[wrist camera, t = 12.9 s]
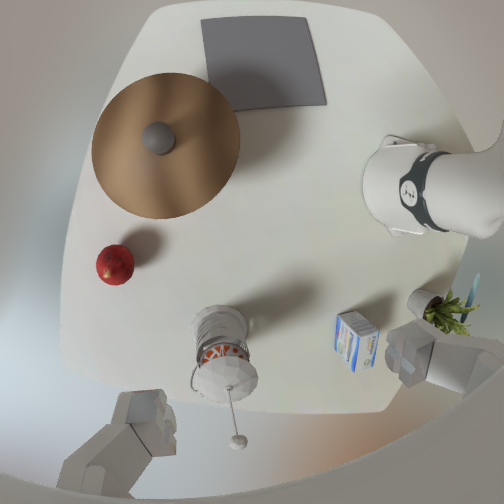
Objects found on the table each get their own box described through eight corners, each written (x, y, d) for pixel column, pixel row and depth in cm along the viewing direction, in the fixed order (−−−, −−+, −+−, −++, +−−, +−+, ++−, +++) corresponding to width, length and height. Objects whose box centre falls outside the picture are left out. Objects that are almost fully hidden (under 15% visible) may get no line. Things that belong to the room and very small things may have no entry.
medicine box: (336, 314, 50) (358, 336, 42) (356, 310, 51) (380, 330, 42) (333, 349, 52) (353, 373, 44) (353, 344, 53) (374, 367, 44)
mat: (303, 18, 36) (304, 17, 35) (324, 105, 41) (325, 104, 40) (200, 21, 33) (200, 19, 33) (214, 113, 38) (214, 113, 38)
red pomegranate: (105, 238, 40) (86, 250, 32) (139, 241, 41) (126, 254, 33) (105, 274, 41) (88, 292, 33) (138, 277, 42) (127, 297, 34)
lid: (227, 66, 28) (231, 47, 23) (249, 202, 32) (258, 205, 27) (89, 97, 26) (73, 84, 21) (108, 231, 30) (93, 240, 25)
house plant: (378, 333, 53) (425, 374, 38) (396, 270, 50) (453, 300, 35) (422, 328, 56) (467, 361, 40) (439, 273, 53) (491, 297, 38)
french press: (259, 326, 48) (307, 436, 24) (215, 369, 48) (233, 484, 24) (215, 293, 45) (234, 402, 21) (172, 340, 45) (160, 458, 22)
